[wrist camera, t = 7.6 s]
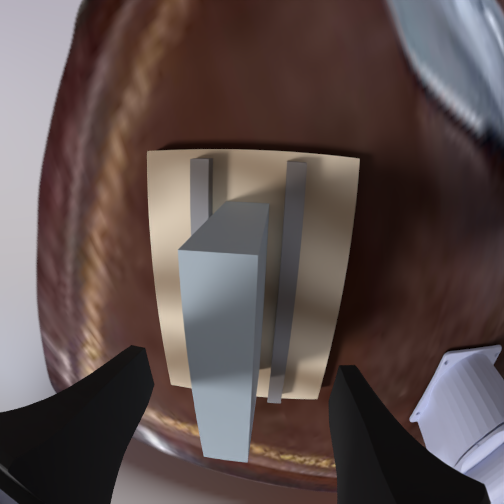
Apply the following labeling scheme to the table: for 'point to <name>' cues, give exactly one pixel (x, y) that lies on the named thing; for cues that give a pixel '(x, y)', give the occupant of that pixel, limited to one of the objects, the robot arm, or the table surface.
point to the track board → (278, 250)
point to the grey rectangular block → (225, 323)
